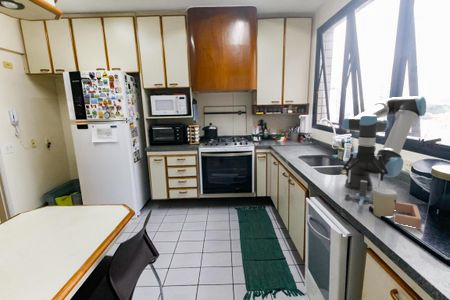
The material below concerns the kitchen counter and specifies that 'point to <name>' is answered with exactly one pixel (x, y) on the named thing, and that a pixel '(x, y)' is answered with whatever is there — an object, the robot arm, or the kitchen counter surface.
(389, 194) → the coffee cup
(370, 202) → the rail
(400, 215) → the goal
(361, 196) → the pusher
